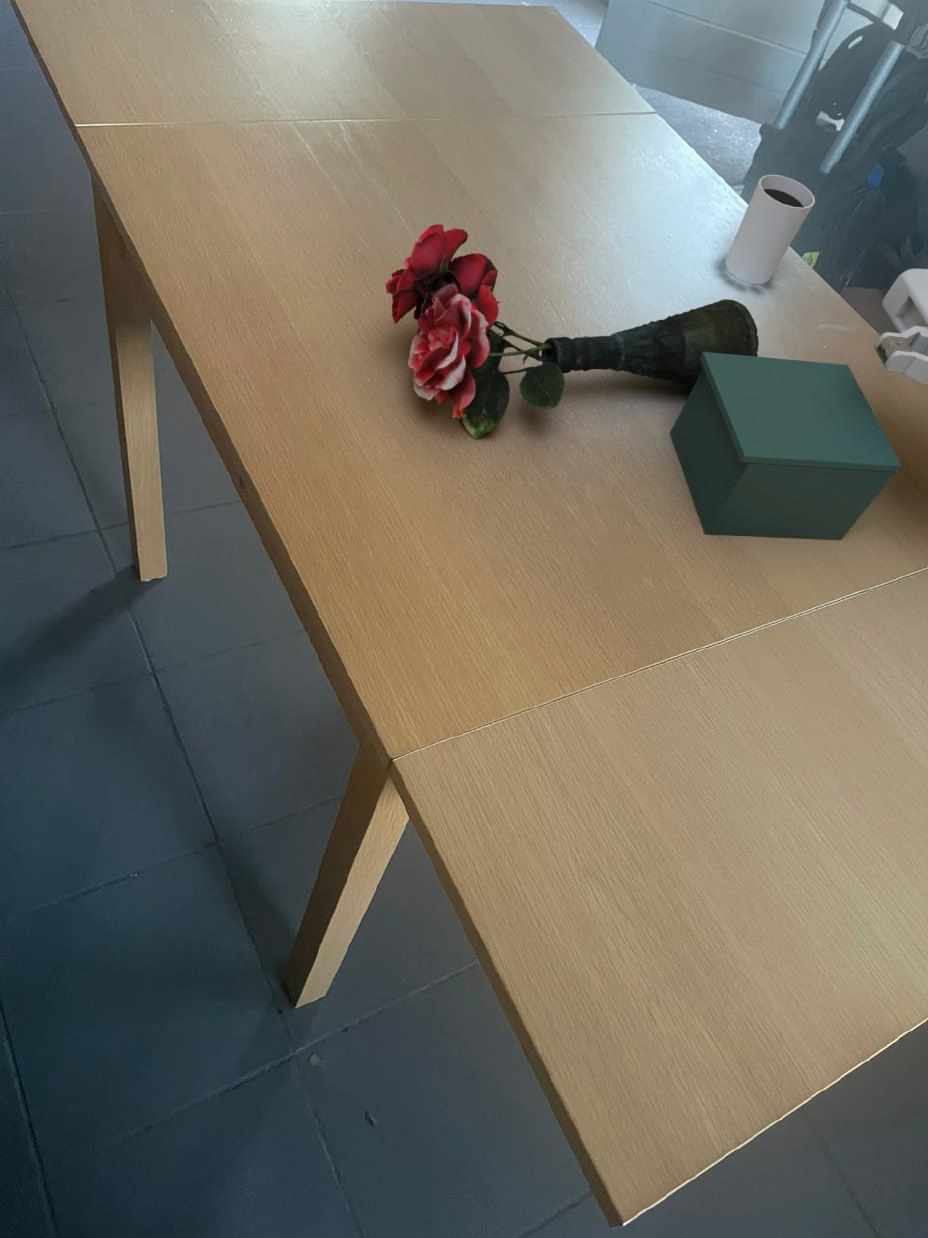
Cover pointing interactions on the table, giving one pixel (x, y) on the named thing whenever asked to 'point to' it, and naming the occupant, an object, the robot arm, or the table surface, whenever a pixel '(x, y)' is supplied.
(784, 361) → the lid
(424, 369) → the vase with roses
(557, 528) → the table surface
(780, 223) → the white cup
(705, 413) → the chest
